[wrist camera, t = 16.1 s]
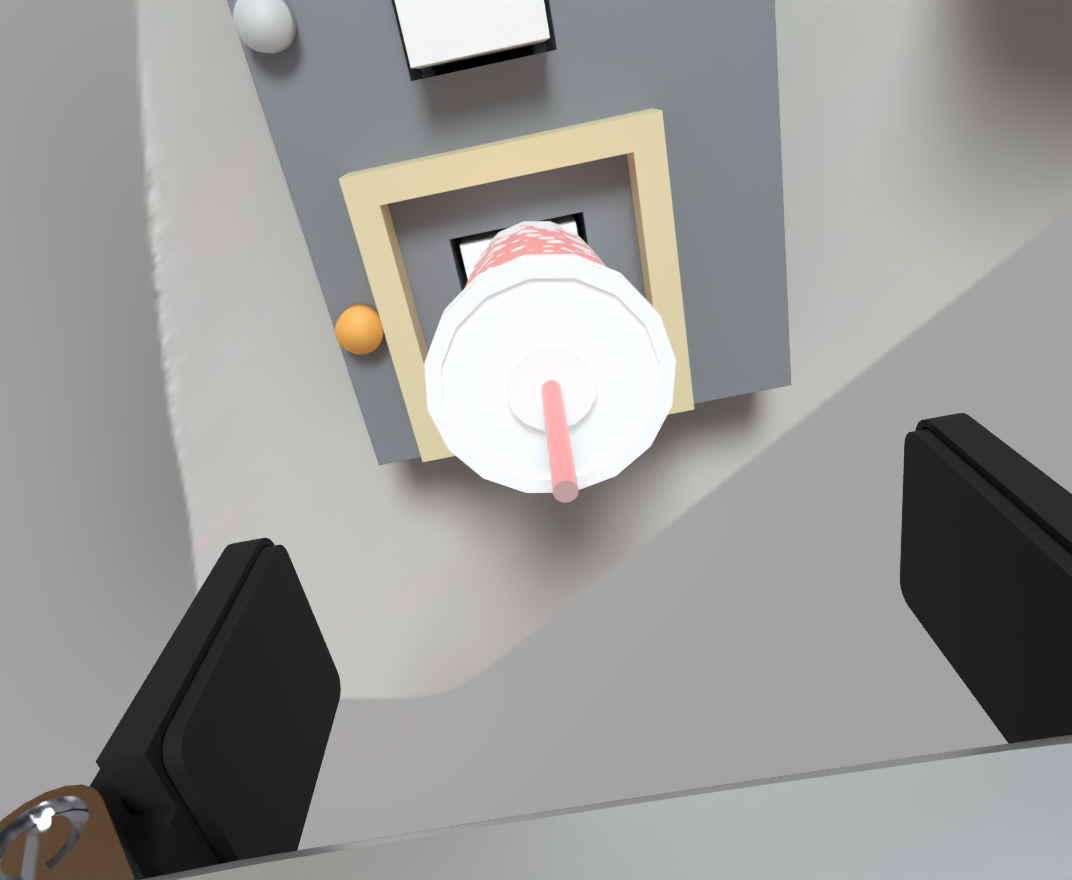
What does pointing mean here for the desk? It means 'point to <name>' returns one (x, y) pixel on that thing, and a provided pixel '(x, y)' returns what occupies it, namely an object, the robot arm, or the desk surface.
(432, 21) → the block
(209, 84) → the desk surface
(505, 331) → the beverage cup
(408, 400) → the gray panel board
